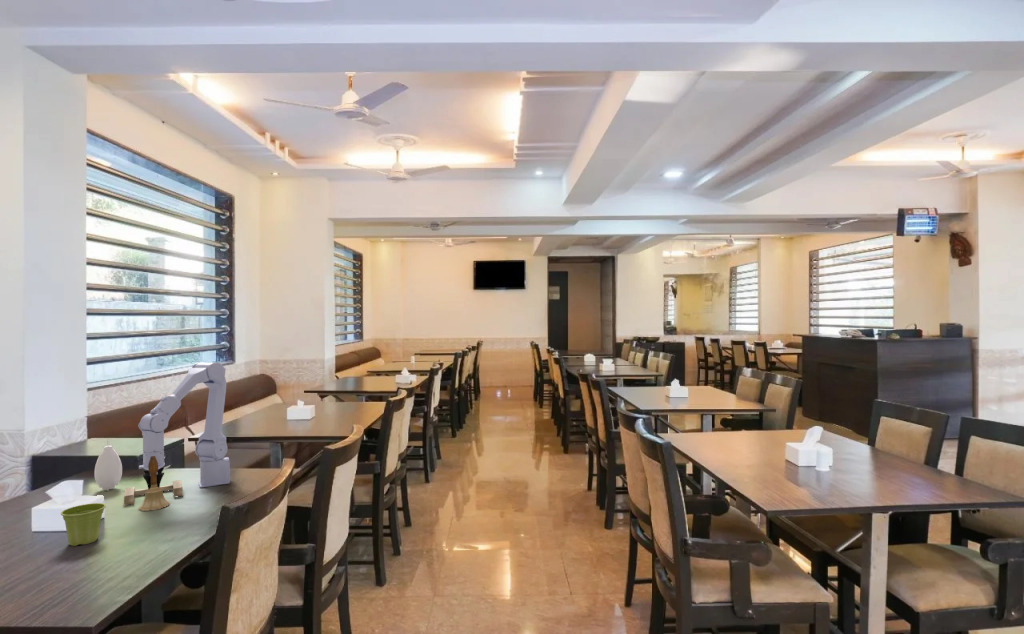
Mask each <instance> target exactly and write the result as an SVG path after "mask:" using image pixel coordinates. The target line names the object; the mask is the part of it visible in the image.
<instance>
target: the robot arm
mask: <svg viewBox="0 0 1024 634" xmlns="http://www.w3.org/2000/svg"><path fill="white" fill-rule="evenodd" d="M226 379H227V378H226V368H225V367H224V366H223V364H222V363H220V362H217V361H215V362H202V361H201V362H200V361H199V362H195V363H194V364H193V365H192V367H190V368H189V369H188V371H187V375H186V376H185V377H184V378H183V379H182V381H181V382H180V383H179V385H178V386H177V387H176V388H175V390H174V391H173V392H172V393H171V394H167V395H165V396H162V397H161V398H160V399H159V403H157V405H155V407H154V408H152V409H151V410H150V411H149V413H147V414H144V415H143V416H142V417H141V419H140V421H139V423H138V424H137V426H138V429H139V430H140V431H141V435H142V459H143V461H142V465H138V469H139V470H140V469H143V472H144V473H143V474H142V475H143V478H144V480H145V482H146V485H147V488H148V490H149V489H150V488H151V476H150V473H149V469H148V465H149V461H150V457H151V456H155V457H156V460H157V462H158V472H157V476H156V477H157V487H160V486H161V482H162V480H163V477H164V475H165V472H163V471H164V469H165V465H166V463H165V434H164V433H165V432H164V431H165V430H166V429H167V428H168V426H169V421H170V419H171V417H172V416H173V415H174V414H175V413H176V412H177V411H178V409H179V408H180V407H181V406H182V399H184V398H185V397H186V396H187V395H188V394H189V393H190V392H191V390H192V389H194V388H195V387H196V386H197V385H198V384H202V383H203V384H204V385H205V386H206V387H207V388H208V397H207V406H206V413H205V414H206V415H205V424H204V431H203V432H202V433H201V435H200V436H198V442H197V444H195V448H194V452H195V455H196V456H197V457H198V460H199V461H200V462H199V470H200V471H199V472H200V474H199V476H200V481H198V486H199V488H208V487H215V486H220V485H227V484H231V480H230V479H231V471H230V469H231V468H230V465H231V464H230V458H229V457H228V456H227V457H225V456H226V454H228V453H227V452H228V449H229V448H228V447H229V446H228V444H227V436H226V435H224V433H223V432H222V429H223V421H224V411H225V403H226V395H227V394H226V393H227V380H226Z"/></svg>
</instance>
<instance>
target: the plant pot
mask: <svg viewBox="0 0 1024 634" xmlns="http://www.w3.org/2000/svg"><path fill="white" fill-rule="evenodd" d="M106 506H107V505H106V504H105V503H101V502H100V503H98V502H97V503H96V502H94V503H92V502H91V503H85V504H81V505H75V506H72V507H71V506H70V507H68V508H66V509H64V510H62V511H60V516H62V519H63V520H64V523H65V524H64V525H65V529H66V534H67V543H68V545H70V546H75V547H76V546H78V545H88V544H91V543H94V542H96V541H97V540H98V539H99V535H100V529H101V521H102V517H103V513H104V509H106V508H107V507H106Z"/></svg>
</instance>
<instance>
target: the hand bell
mask: <svg viewBox="0 0 1024 634" xmlns="http://www.w3.org/2000/svg"><path fill="white" fill-rule="evenodd" d="M148 469H149V473H150V476H151V488H150V489H149V490H147V491H146V494H145V495H144V500H143V502H142V504H140V506H139V507H138V509H137V510H138V511H140V510H141V511H140V512H151V511H150V510H153V511H157V510H156V509H159V510H161V508H162V509H164V508H163V507H165V508H167V507H169V506H170V505H169V504H171V503H170V502H169V501H168V500H167V499H166V498H165V496H164V492H163V490H162V488H159V487H157V477H156V476H157V472H158V462H157V460H156V457H155V456H151V457H150V461H149V465H148ZM168 505H169V506H168ZM166 506H167V507H166Z"/></svg>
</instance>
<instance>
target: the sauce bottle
mask: <svg viewBox="0 0 1024 634" xmlns="http://www.w3.org/2000/svg"><path fill="white" fill-rule="evenodd" d="M93 475H94V480H95V482H96V485H97V486H98V487H99V488H101V490H104V491H106V490H107V491H110V490H109V489H112V490H113V489H114V488H116V486H118V485H119V484H120V482H121V480H122V475H123V465H122V460H121V458H120V456H119V454H118V452H117V451H116V450H115V448H114V446H113V445H110V440H109V438H108V439H107V445H105V446H104V447H103V449H102V450H101V452H100V454H99V455H98V457H97V460H96V463H95V466H94V474H93Z"/></svg>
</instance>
